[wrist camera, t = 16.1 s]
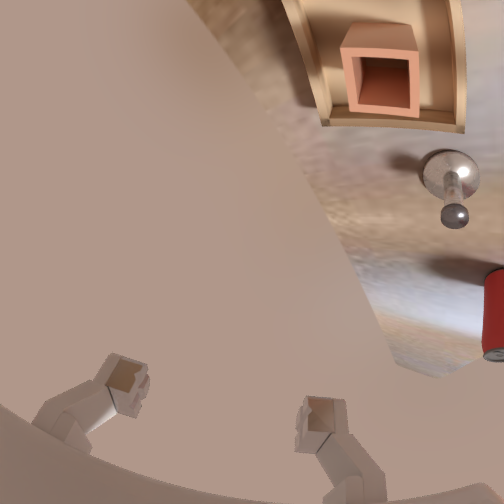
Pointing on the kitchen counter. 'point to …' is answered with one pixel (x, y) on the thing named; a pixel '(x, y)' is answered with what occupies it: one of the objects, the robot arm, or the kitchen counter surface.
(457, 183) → the silver knob
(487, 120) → the kitchen counter surface
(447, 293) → the kitchen counter surface
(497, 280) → the beer can
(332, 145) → the kitchen counter surface
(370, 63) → the tray
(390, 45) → the collar
